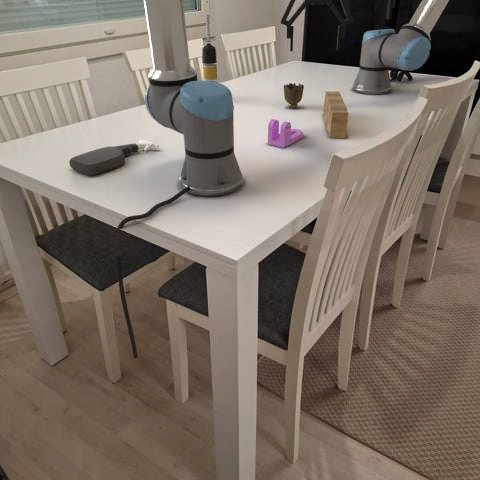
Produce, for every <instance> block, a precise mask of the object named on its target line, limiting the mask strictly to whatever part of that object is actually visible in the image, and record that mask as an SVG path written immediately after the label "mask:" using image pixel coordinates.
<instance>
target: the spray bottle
mask: <svg viewBox="0 0 480 480" xmlns="http://www.w3.org/2000/svg"><path fill="white" fill-rule="evenodd" d="M159 148H160V145H159V144H158V143H155V142H151V141H148V140H144V139H139V140H138V141H137V142H135V143H129V144H128V143H126V144H122V145H113V146H105V147H100V148H97V149H94V150H90V151H87V152H83V153H81V154H78V155H74V156H73V157H70V159H69V161H68V162H69V167H70V168H71V169H72V170H74V171H75V172H78V173H81V174H83V175H85V176H89V177H90V176H91V177H92V176H95V175H99V174H102V173H105V172H107V171H110V170H113V169H116V168H118V167H120V166H122V165H123V164H124V163H125V158H126V156H127V155H131V154H133V153H138V151H140V150H143V151H144V152H146V151H147V150H149V149H159Z"/></svg>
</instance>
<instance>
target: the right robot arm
mask: <svg viewBox="0 0 480 480" xmlns="http://www.w3.org/2000/svg"><path fill="white" fill-rule="evenodd" d="M346 2H347V5H348V8H349V10H350V13H351V16H352V14H353V0H346ZM449 2H450V0H421V1H420V3H419V5H418V7H417V8H416V10H415V12H414V13H413V15H412V17H411V19H410V20H409V23H406V24H403V25H402V27H401V28H400V30H399V32H398V33H396V31H395V29H394V28H385V29H384V28H383V29H374V30H367V31H365V32H364V34H363V37H362V42H361V51H360V58H359V59H360V60H359V69H358V72H357V75H356V77H355V79H354V81H353V84H352V91H353V92H355V93H358V94H362V95H363V94H364V95H385V94H388V93H390V92H391V90H392V84H391V82H392V81H395V80H397V77H396V78H395V79H394V78H392V79H391V78H390V68H391V67H392V68H397V69H399V70H401V71H402V70H407V71H411V72H412V71H416V70H418V69H420V68H421V67H422V66H423V65H424V64H425V63H426V62H427V60H428V58H429V57H430V53H431V52H430V51H431V48H432V45H431V40H432V39H431V35H430V34H431V32H432V31H433V28H434V27H435V25H436V23H437V22H438V20H439V18H440V17H441V15H442V14H443V12H444V10H445V8H446V7H447V5H448V3H449ZM396 3H397V0H387V4H386V13H385V19H386V20H388V21H389V20H391V19H392V12H393V9H394V8H395V7H396ZM392 68H391V69H392ZM397 76H398V75H397Z"/></svg>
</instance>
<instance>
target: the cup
mask: <svg viewBox="0 0 480 480" xmlns="http://www.w3.org/2000/svg"><path fill="white" fill-rule="evenodd" d="M304 89H305V85H304V84H301V83H298V85H297V84H296V83H295V82H293V83H292V82H290V83H286V84H283V97H284V101H285V102H286V103H287V107H288V108H289V109H297V108H298V106H299V103H300V102H301V101H302V99H303V96H304Z"/></svg>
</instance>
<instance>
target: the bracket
mask: <svg viewBox="0 0 480 480" xmlns="http://www.w3.org/2000/svg"><path fill="white" fill-rule="evenodd" d="M303 136H304V131H303V130H301V129H298V128H292V125H291V122H290V121H283V122H282V123H281V124H280V121H279V120H278V119H273V118H272V119H270V120H269V122H268V125H267V144H268V145H271V146H274V147H279V148H286V147H288V146H290V145H292V144H293V143H296V142H297V141H299V140H301V139H302V138H303Z"/></svg>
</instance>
